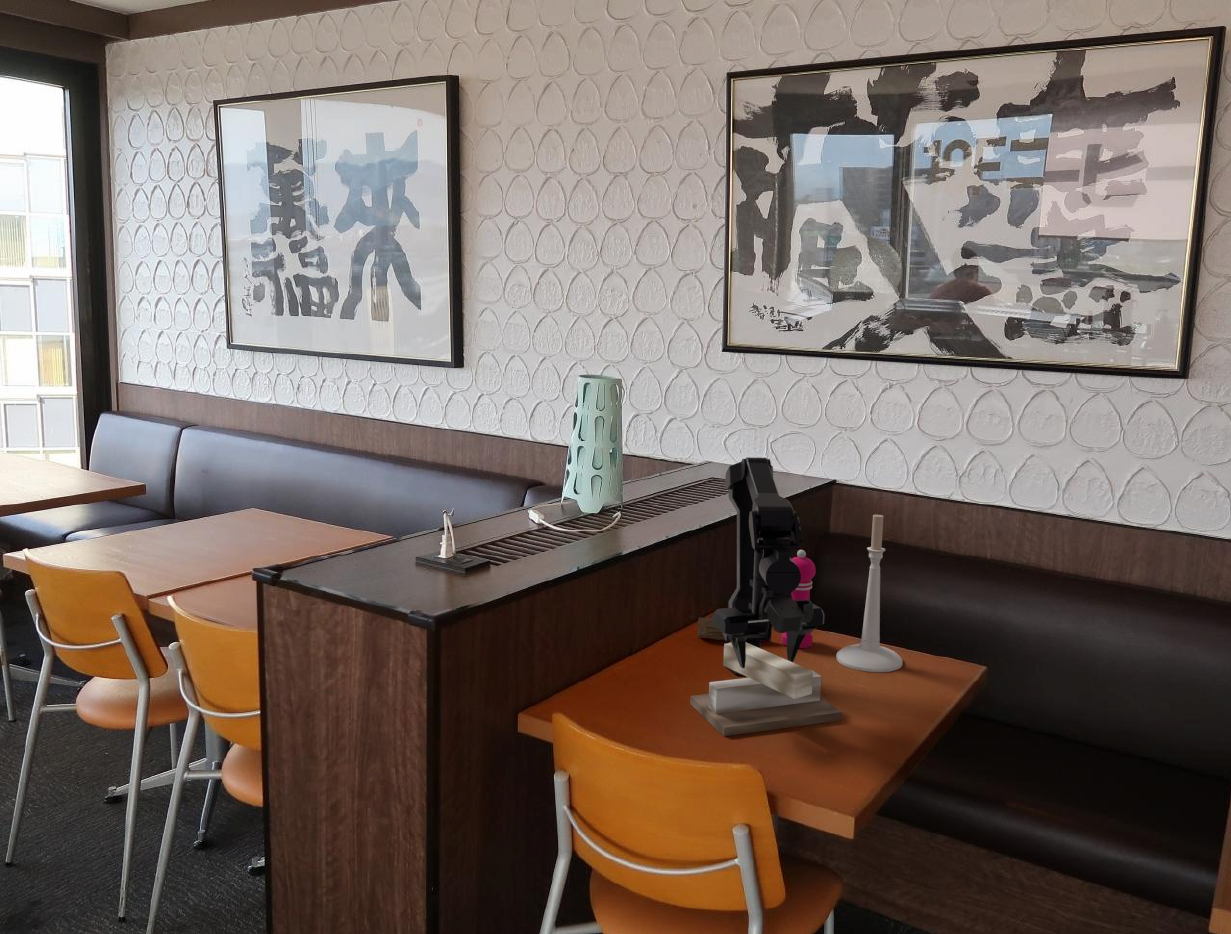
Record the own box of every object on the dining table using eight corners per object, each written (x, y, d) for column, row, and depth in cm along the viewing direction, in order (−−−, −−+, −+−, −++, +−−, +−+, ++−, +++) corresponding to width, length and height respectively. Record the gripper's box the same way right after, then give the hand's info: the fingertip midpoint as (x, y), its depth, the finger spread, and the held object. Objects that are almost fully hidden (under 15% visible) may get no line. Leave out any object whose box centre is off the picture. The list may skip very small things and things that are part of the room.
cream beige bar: (723, 665, 186) (724, 644, 185) (740, 661, 188) (741, 640, 188) (794, 699, 171) (795, 675, 171) (811, 694, 174) (812, 671, 173)
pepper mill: (793, 635, 221) (797, 543, 218) (821, 644, 216) (826, 550, 213) (772, 642, 216) (776, 549, 213) (801, 652, 211) (805, 556, 208)
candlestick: (862, 675, 199) (871, 522, 194) (823, 654, 210) (831, 508, 205) (916, 667, 204) (926, 517, 199) (875, 646, 216) (884, 504, 210)
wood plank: (770, 639, 219) (771, 616, 218) (771, 643, 217) (772, 619, 216) (697, 637, 219) (697, 615, 218) (697, 641, 217) (698, 618, 216)
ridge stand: (690, 704, 184) (691, 671, 183) (800, 690, 191) (802, 659, 190) (723, 736, 171) (725, 701, 170) (841, 720, 178) (842, 687, 177)
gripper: (741, 594, 166) (738, 687, 169) (843, 585, 172) (838, 675, 175) (712, 576, 177) (709, 664, 179) (809, 568, 183) (805, 653, 185)
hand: (766, 664), depth 179 cm, fingers open, 9 cm apart
